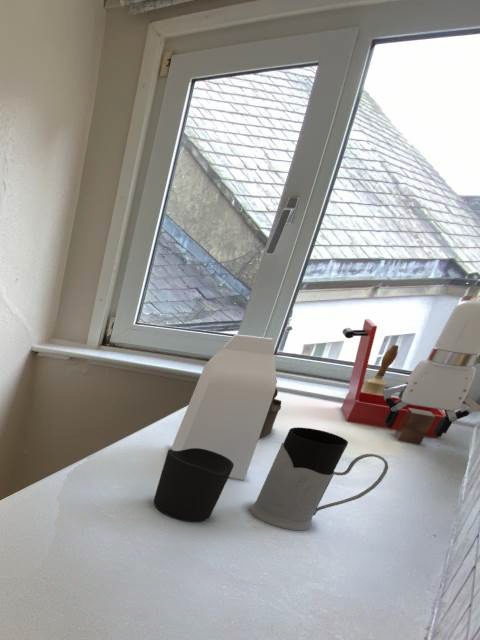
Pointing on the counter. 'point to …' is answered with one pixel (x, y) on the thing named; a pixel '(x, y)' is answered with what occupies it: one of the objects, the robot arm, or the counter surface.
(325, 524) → the counter surface
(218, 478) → the pen holder
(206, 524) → the counter surface
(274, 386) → the milk
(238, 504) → the counter surface
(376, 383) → the hand bell
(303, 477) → the glass holder
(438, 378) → the robot arm
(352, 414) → the red shallow rectangular box
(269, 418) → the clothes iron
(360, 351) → the lid
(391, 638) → the counter surface
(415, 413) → the block
